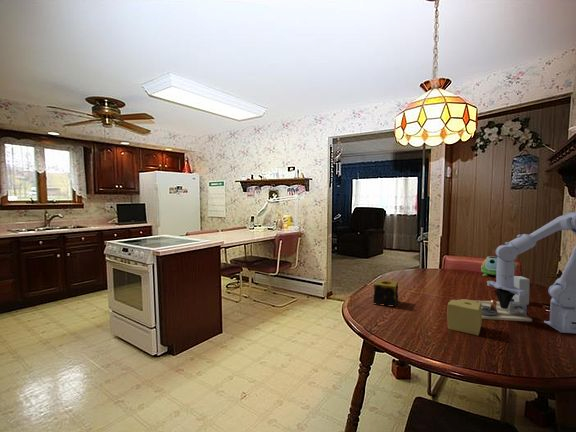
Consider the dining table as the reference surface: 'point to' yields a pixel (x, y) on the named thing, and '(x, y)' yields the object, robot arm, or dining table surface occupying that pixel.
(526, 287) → the skincare box
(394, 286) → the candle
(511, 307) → the block
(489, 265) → the turtle holder
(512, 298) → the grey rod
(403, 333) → the dining table surface
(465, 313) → the cheese
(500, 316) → the board
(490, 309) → the handwheel
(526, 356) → the dining table surface
